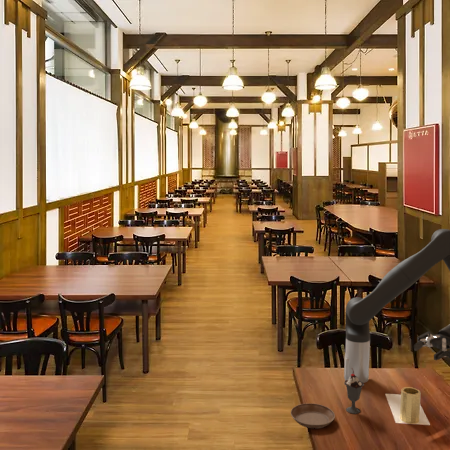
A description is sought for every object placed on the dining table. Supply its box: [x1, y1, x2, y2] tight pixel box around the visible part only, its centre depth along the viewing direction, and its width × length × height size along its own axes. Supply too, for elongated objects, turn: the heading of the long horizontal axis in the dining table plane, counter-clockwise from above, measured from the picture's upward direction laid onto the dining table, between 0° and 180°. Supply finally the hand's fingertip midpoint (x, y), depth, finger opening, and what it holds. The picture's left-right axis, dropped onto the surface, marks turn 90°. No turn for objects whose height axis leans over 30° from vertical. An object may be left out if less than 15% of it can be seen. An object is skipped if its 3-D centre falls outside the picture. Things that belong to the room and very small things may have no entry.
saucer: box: [290, 402, 336, 429], centre depth 181 cm, size 15×15×3 cm
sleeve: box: [400, 386, 421, 425], centre depth 179 cm, size 6×6×10 cm
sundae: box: [343, 368, 365, 415], centre depth 187 cm, size 7×7×15 cm
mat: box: [385, 393, 431, 426], centre depth 187 cm, size 11×22×1 cm, turn 173°
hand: (424, 353), depth 187 cm, fingers open, 8 cm apart
